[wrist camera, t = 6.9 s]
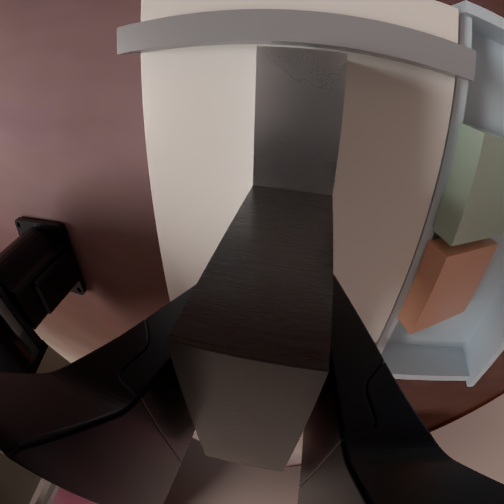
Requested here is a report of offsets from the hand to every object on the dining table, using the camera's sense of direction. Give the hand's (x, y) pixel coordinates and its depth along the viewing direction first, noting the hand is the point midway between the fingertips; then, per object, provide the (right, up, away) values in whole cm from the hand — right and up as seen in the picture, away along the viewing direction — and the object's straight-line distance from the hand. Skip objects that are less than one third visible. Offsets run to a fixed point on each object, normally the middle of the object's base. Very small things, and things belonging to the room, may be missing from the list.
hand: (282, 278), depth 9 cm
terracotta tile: (+8, 0, +4) cm, 10 cm away
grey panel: (+1, +2, +3) cm, 3 cm away
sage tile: (+9, +4, +1) cm, 9 cm away
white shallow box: (+1, +4, +5) cm, 7 cm away
